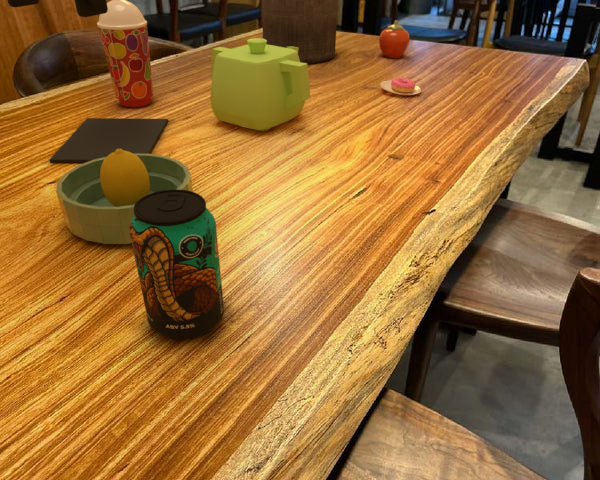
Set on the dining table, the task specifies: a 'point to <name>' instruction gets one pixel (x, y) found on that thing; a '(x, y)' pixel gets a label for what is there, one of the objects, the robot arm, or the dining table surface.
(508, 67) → the dining table surface
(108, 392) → the dining table surface
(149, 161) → the bowl
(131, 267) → the dining table surface
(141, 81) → the smoothie
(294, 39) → the planter
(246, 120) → the teapot
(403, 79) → the donut
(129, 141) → the mat
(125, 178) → the lemon
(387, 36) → the tomato
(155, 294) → the beverage can
